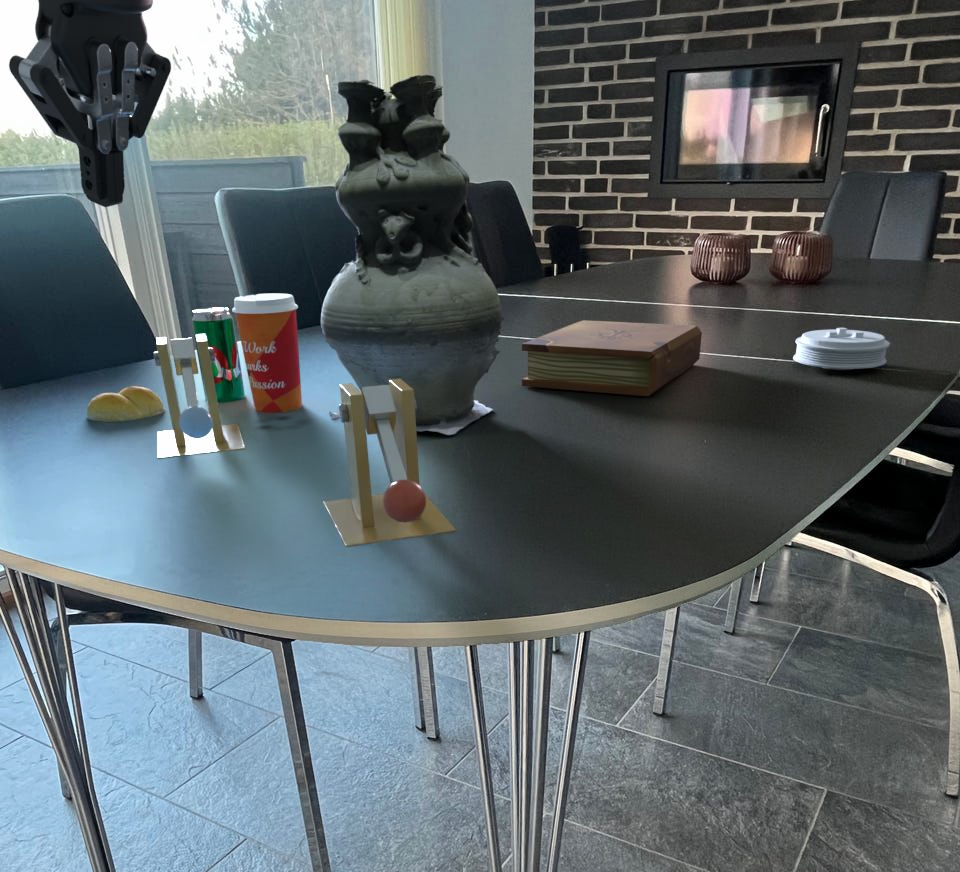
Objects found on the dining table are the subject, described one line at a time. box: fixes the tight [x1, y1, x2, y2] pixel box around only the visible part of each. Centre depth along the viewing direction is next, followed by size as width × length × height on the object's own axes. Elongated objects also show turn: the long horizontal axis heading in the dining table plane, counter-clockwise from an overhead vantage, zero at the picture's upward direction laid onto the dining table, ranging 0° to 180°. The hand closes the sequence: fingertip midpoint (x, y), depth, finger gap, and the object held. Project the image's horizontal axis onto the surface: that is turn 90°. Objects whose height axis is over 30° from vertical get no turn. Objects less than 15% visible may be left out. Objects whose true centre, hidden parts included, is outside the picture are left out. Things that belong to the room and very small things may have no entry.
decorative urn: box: [320, 74, 505, 436], centre depth 98 cm, size 21×21×35 cm
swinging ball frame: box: [323, 379, 457, 548], centre depth 70 cm, size 11×9×12 cm
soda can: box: [191, 306, 246, 404], centre depth 110 cm, size 5×5×12 cm
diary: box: [521, 319, 703, 397], centre depth 123 cm, size 23×19×6 cm
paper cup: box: [231, 292, 303, 414], centre depth 105 cm, size 8×8×14 cm
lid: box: [792, 327, 891, 371], centre depth 125 cm, size 13×13×5 cm
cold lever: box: [170, 337, 213, 439], centre depth 89 cm, size 12×3×3 cm
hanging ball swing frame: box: [153, 334, 246, 459], centre depth 93 cm, size 11×9×12 cm
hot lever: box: [360, 385, 426, 523], centre depth 67 cm, size 12×3×3 cm
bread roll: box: [86, 385, 166, 423], centre depth 106 cm, size 8×9×4 cm
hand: (104, 201), depth 65 cm, fingers closed
